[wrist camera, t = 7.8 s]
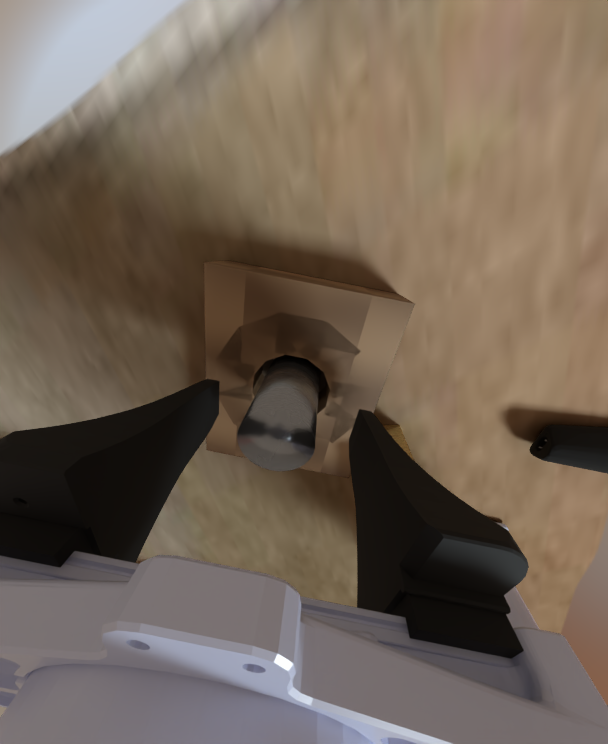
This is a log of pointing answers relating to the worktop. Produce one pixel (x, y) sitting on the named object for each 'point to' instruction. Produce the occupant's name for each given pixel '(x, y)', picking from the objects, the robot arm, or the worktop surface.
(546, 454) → the electric trimmer
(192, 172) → the worktop surface
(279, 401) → the round peg
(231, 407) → the socket block
